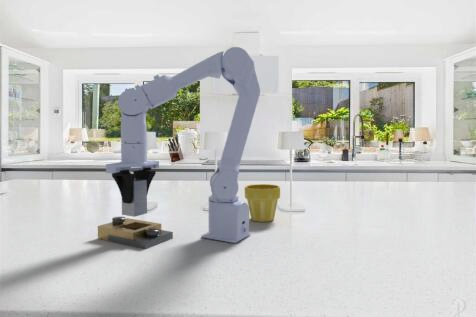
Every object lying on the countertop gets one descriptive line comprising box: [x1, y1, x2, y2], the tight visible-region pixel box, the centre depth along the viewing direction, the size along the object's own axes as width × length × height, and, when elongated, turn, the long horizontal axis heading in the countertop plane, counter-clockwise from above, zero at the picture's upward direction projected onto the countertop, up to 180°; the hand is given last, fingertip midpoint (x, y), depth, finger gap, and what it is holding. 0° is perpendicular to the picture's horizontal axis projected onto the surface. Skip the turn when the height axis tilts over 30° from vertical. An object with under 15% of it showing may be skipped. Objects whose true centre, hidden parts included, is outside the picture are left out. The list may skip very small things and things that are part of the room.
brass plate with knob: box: [97, 216, 174, 250], centre depth 80 cm, size 15×9×4 cm, turn 61°
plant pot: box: [244, 183, 281, 223], centre depth 99 cm, size 10×10×10 cm
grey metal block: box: [121, 179, 148, 218], centre depth 79 cm, size 4×4×8 cm
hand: (134, 201), depth 79 cm, fingers closed on grey metal block, 4 cm apart
